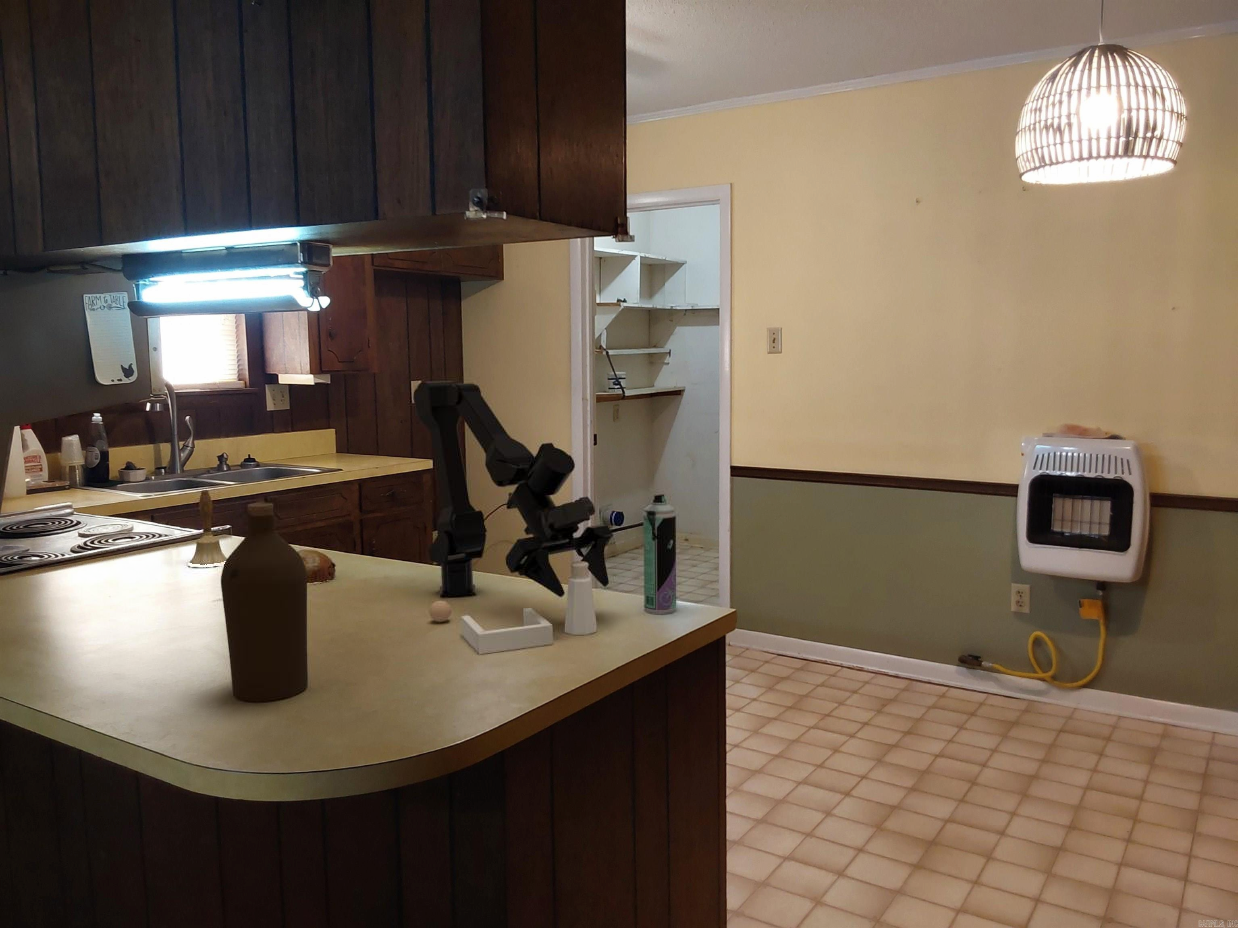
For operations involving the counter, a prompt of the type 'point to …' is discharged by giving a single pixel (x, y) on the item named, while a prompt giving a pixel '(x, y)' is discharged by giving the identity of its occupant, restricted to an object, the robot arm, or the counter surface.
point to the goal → (508, 634)
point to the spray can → (659, 557)
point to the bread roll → (317, 566)
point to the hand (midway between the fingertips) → (585, 590)
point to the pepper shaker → (580, 602)
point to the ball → (440, 611)
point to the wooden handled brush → (207, 536)
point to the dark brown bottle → (265, 612)
